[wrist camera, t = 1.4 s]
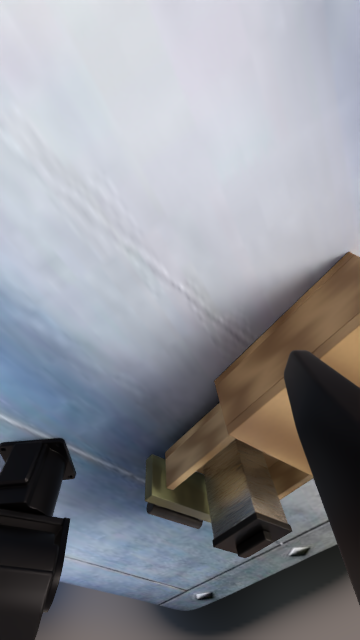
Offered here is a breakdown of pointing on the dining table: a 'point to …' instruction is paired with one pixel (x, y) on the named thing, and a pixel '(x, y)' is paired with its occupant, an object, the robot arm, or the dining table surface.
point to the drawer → (188, 485)
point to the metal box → (243, 500)
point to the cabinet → (272, 355)
